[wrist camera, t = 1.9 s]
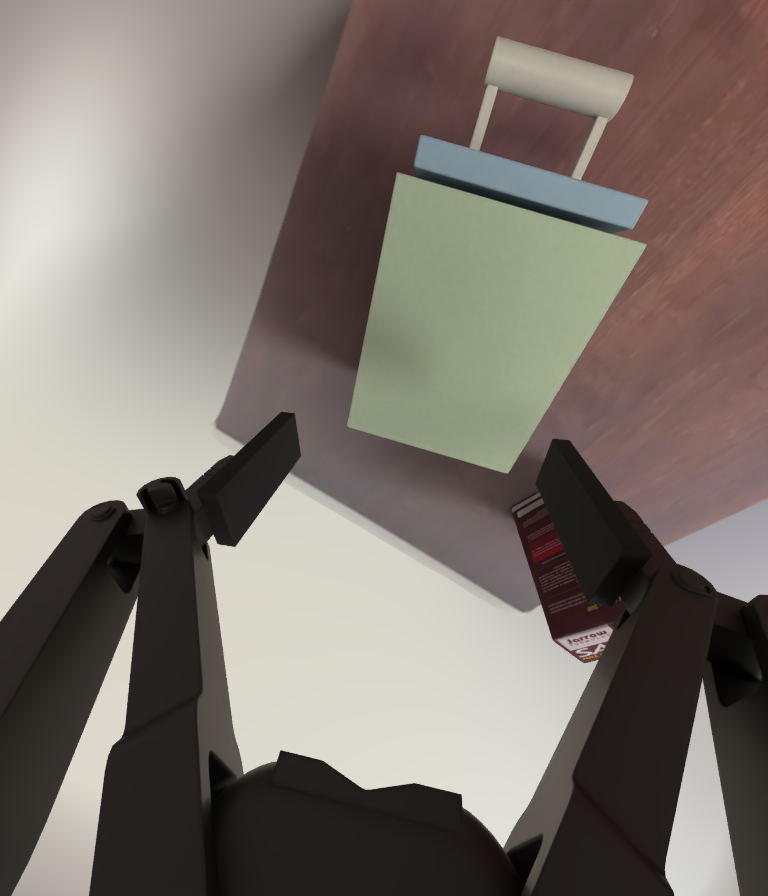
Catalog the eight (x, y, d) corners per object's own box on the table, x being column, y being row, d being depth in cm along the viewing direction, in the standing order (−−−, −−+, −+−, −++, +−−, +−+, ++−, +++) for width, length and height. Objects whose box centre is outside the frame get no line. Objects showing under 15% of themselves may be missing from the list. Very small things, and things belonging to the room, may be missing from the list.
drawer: (451, 80, 19) (459, -47, 11) (620, 129, 19) (744, 34, 11) (384, 357, 29) (364, 391, 21) (494, 389, 29) (515, 435, 21)
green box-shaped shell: (413, 208, 24) (396, 171, 14) (565, 252, 24) (648, 243, 14) (373, 379, 32) (346, 426, 22) (487, 412, 31) (507, 474, 22)
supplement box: (533, 528, 39) (583, 666, 25) (509, 507, 38) (548, 641, 24) (599, 494, 34) (700, 638, 21) (574, 469, 33) (665, 606, 20)
